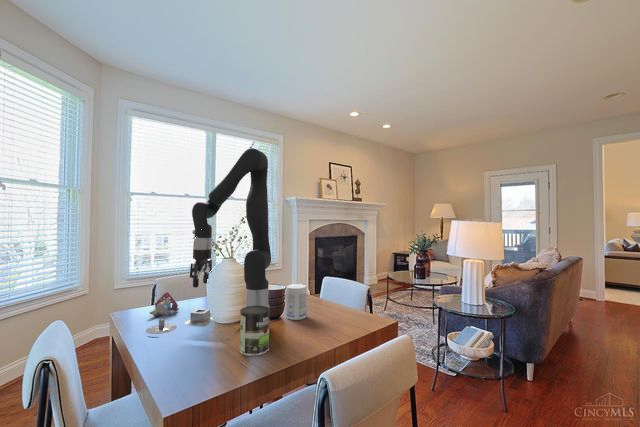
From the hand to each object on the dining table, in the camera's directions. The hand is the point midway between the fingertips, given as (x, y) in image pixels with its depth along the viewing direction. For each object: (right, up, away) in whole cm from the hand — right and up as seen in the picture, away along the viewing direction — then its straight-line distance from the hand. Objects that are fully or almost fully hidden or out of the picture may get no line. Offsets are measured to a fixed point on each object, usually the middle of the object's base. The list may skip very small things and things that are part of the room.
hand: (200, 285), depth 133 cm
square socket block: (0, -15, 0) cm, 15 cm away
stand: (0, -17, 0) cm, 17 cm away
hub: (-12, -16, -11) cm, 23 cm away
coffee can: (+29, -17, -25) cm, 42 cm away
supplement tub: (+41, -18, +10) cm, 46 cm away
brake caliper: (-20, -17, +9) cm, 28 cm away
